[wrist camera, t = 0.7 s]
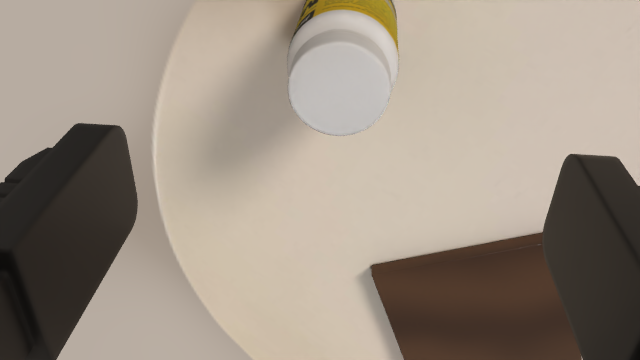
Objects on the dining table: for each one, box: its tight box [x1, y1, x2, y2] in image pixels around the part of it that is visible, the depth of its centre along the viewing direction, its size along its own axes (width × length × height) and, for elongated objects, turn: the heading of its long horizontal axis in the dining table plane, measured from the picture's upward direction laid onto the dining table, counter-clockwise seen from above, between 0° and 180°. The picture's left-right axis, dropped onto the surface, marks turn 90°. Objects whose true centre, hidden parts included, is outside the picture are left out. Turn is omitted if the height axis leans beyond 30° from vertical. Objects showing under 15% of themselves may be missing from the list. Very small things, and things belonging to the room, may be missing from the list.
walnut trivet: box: [372, 233, 582, 360], centre depth 39 cm, size 12×12×1 cm
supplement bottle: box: [287, 0, 399, 136], centre depth 25 cm, size 5×5×8 cm
